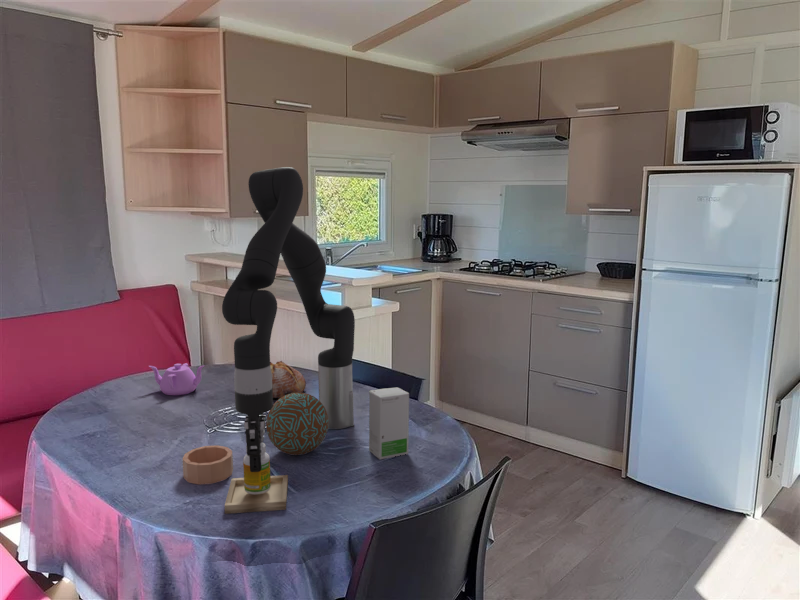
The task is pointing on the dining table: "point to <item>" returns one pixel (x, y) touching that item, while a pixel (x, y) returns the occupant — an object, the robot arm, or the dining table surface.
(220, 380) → the dining table surface
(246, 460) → the supplement bottle
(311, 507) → the dining table surface
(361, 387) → the dining table surface
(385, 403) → the skincare box
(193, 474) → the holder ring
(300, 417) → the decorative sphere
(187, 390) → the teapot
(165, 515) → the dining table surface
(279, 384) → the bread
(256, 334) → the robot arm
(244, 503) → the tray
